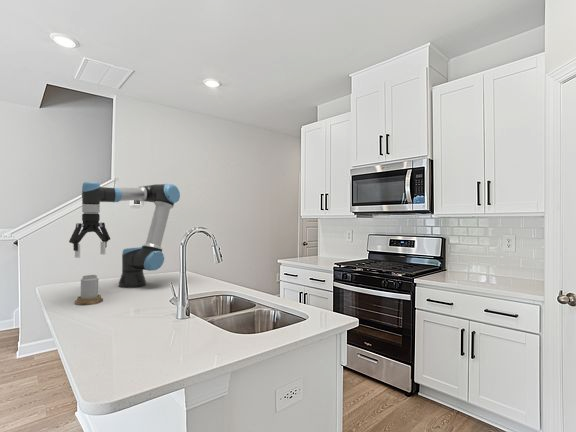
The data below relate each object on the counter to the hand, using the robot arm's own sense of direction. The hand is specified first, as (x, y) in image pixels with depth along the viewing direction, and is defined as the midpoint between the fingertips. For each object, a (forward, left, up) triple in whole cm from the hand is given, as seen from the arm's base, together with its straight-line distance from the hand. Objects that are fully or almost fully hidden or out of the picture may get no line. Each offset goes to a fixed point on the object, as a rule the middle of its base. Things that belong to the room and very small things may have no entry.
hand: (90, 255), depth 167 cm
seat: (0, +1, -23) cm, 23 cm away
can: (0, +1, -22) cm, 22 cm away
